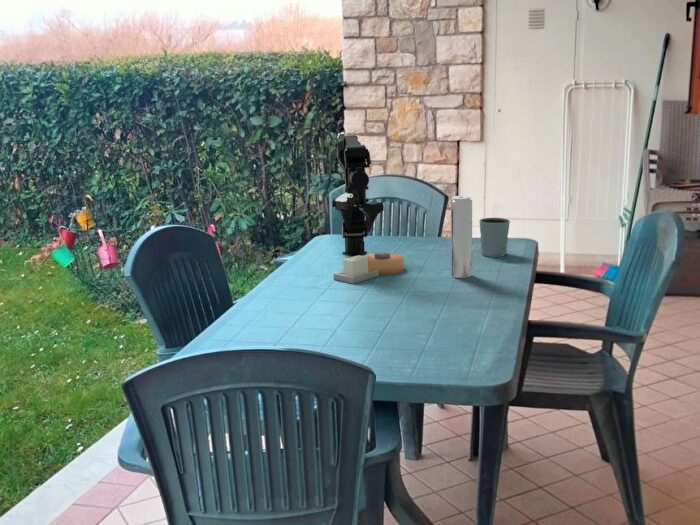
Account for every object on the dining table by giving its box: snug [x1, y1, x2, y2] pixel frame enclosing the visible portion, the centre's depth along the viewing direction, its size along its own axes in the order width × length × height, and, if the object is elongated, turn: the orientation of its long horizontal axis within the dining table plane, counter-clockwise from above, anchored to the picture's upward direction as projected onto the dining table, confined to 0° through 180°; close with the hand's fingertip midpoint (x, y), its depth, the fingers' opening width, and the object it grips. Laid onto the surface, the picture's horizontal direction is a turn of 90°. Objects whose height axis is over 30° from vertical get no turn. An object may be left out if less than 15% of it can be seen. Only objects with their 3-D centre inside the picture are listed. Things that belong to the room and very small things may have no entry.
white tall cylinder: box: [450, 195, 473, 279], centre depth 249 cm, size 6×6×25 cm
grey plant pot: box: [479, 217, 511, 258], centre depth 277 cm, size 10×10×12 cm
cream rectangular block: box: [342, 255, 368, 277], centre depth 253 cm, size 4×7×6 cm, turn 136°
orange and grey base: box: [333, 251, 405, 284], centre depth 258 cm, size 14×25×5 cm, turn 136°
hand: (358, 230), depth 269 cm, fingers open, 9 cm apart
